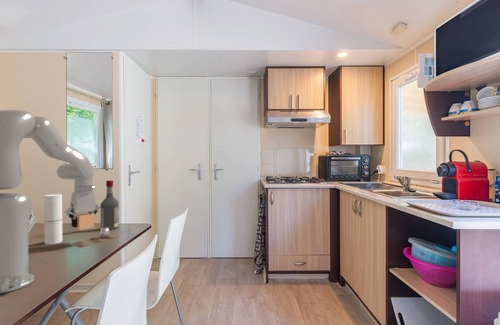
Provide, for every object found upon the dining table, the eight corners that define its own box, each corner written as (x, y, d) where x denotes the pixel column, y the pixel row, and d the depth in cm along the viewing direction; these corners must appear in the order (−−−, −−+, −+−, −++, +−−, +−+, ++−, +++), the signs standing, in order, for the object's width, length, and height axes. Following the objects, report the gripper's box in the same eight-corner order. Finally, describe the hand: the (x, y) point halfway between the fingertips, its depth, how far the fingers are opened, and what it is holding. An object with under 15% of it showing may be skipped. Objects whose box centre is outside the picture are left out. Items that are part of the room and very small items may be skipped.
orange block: (86, 225, 131) (86, 212, 131) (94, 227, 128) (94, 214, 128) (71, 228, 125) (71, 215, 125) (79, 230, 122) (79, 216, 122)
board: (108, 236, 143) (108, 233, 143) (119, 239, 139) (119, 236, 139) (68, 247, 126) (68, 244, 126) (80, 250, 121) (80, 247, 121)
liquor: (100, 233, 149) (99, 181, 149) (102, 229, 158) (102, 180, 157) (117, 231, 153) (117, 181, 152) (119, 227, 161) (118, 180, 161)
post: (110, 237, 137) (110, 228, 136) (101, 239, 134) (101, 229, 134) (107, 235, 139) (107, 226, 139) (99, 237, 137) (99, 228, 137)
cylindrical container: (52, 247, 125) (52, 196, 125) (40, 246, 127) (40, 195, 126) (66, 243, 132) (65, 194, 132) (54, 242, 134) (54, 194, 133)
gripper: (96, 187, 136) (96, 221, 136) (59, 190, 121) (58, 228, 121) (105, 188, 133) (104, 223, 132) (68, 190, 117) (67, 230, 117)
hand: (82, 225), depth 127 cm, fingers closed on orange block, 7 cm apart
